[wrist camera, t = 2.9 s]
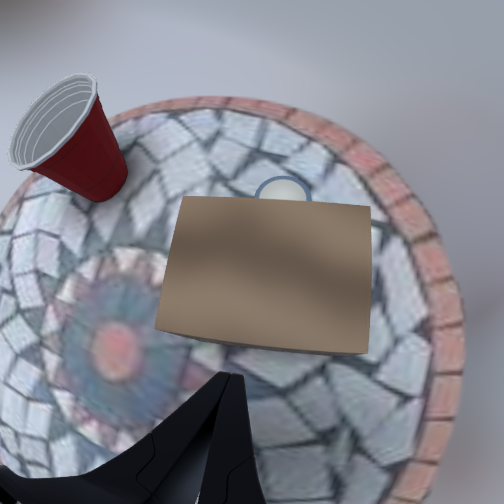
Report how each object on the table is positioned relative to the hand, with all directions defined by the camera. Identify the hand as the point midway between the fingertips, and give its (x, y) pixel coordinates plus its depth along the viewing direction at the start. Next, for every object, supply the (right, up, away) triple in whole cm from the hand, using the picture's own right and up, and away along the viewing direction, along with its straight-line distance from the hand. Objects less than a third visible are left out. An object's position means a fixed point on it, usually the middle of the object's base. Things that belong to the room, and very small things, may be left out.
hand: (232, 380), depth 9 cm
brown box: (+3, +1, +14) cm, 14 cm away
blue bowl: (+3, +7, +16) cm, 18 cm away
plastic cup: (-16, +12, +21) cm, 29 cm away
